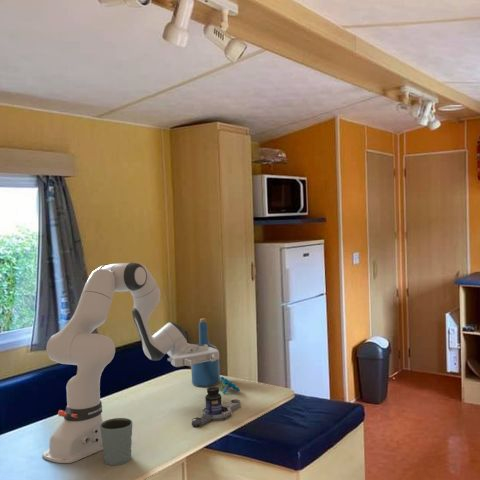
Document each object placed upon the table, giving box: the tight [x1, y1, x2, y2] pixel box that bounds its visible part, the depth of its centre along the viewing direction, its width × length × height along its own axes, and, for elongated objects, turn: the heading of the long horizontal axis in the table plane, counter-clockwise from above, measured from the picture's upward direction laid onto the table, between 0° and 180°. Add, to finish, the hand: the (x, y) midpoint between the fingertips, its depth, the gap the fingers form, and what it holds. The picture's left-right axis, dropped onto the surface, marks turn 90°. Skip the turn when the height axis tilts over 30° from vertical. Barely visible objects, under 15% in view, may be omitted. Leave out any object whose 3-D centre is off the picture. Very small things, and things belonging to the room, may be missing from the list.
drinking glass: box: [100, 417, 133, 466], centre depth 182 cm, size 10×10×12 cm
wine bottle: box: [190, 317, 221, 388], centre depth 259 cm, size 14×13×30 cm
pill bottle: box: [204, 386, 223, 414], centre depth 216 cm, size 6×6×11 cm
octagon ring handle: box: [191, 398, 242, 429], centre depth 217 cm, size 26×11×3 cm, turn 142°
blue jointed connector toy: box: [219, 376, 240, 395], centre depth 244 cm, size 11×6×10 cm
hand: (203, 361), depth 223 cm, fingers open, 8 cm apart
